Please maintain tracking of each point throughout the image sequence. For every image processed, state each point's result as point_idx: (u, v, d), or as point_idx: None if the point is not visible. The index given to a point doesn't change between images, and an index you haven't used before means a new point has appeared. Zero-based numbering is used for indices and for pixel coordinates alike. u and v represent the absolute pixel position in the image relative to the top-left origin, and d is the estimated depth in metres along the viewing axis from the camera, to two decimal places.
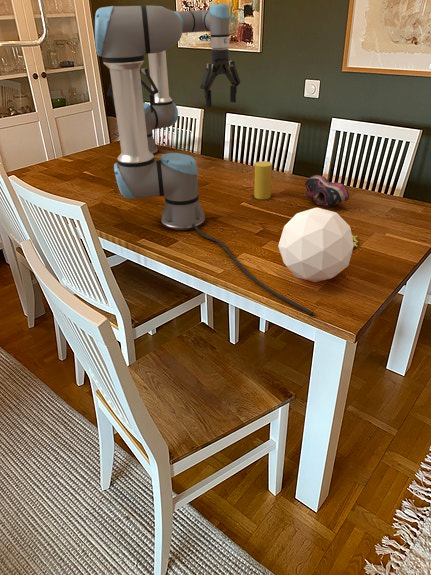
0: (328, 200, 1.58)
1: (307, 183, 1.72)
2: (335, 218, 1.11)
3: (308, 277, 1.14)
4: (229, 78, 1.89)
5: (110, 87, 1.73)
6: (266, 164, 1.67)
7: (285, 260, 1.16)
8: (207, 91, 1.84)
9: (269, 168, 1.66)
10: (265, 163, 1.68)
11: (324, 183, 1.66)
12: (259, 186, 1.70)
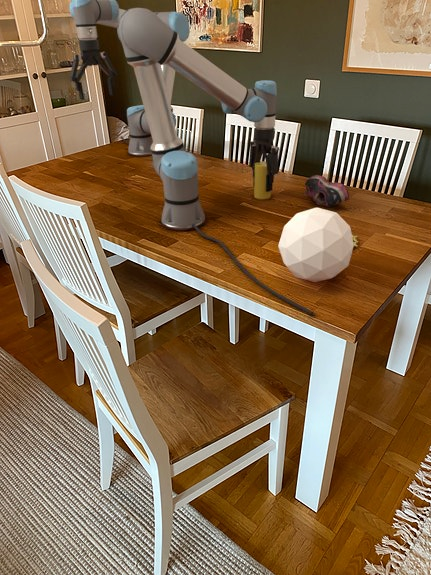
0: (328, 200, 1.58)
1: (307, 183, 1.72)
2: (335, 218, 1.11)
3: (308, 277, 1.14)
4: (104, 70, 1.82)
5: (250, 159, 1.71)
6: None
7: (285, 260, 1.16)
8: (77, 83, 1.77)
9: None
10: (265, 163, 1.68)
11: (324, 183, 1.66)
12: (259, 186, 1.70)
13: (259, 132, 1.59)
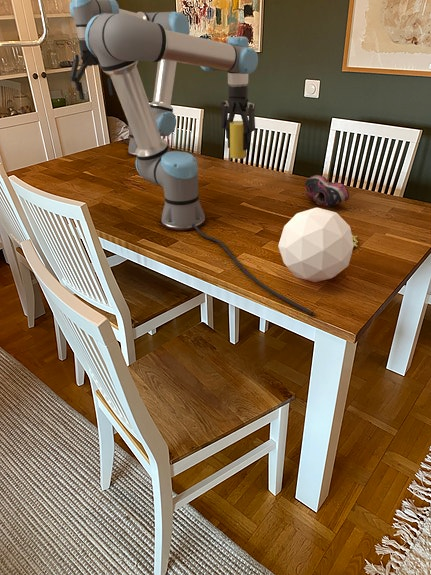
0: (328, 200, 1.58)
1: (307, 183, 1.72)
2: (335, 218, 1.11)
3: (308, 277, 1.14)
4: None
5: (222, 119, 1.71)
6: (241, 122, 1.69)
7: (285, 260, 1.16)
8: (77, 83, 1.77)
9: None
10: (239, 122, 1.70)
11: (324, 183, 1.66)
12: (237, 146, 1.71)
13: (236, 89, 1.60)
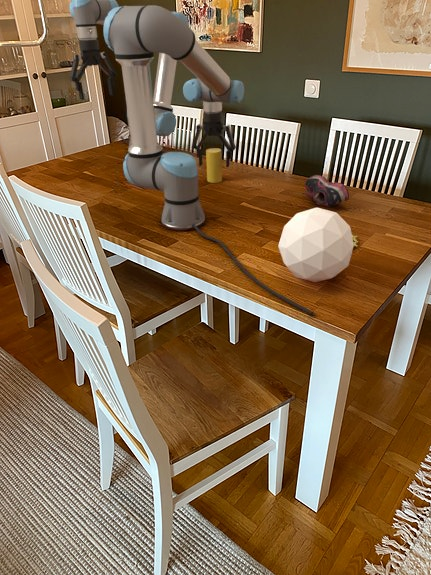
0: (328, 200, 1.58)
1: (307, 183, 1.72)
2: (335, 218, 1.11)
3: (308, 277, 1.14)
4: (104, 70, 1.82)
5: (194, 141, 1.84)
6: (217, 150, 1.85)
7: (285, 260, 1.16)
8: (77, 83, 1.77)
9: (221, 153, 1.86)
10: (214, 149, 1.86)
11: (324, 183, 1.66)
12: (215, 171, 1.87)
13: (213, 116, 1.75)
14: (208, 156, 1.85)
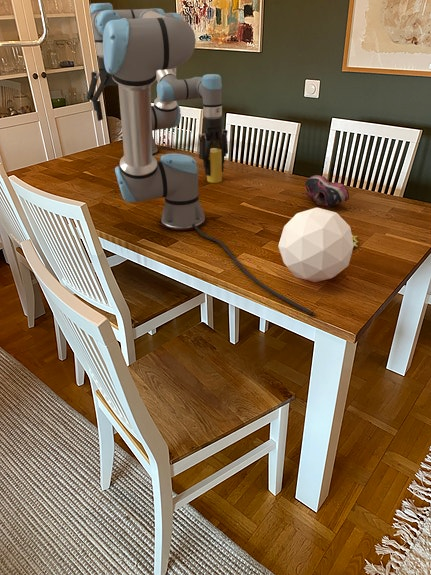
0: (328, 200, 1.58)
1: (307, 183, 1.72)
2: (335, 218, 1.11)
3: (308, 277, 1.14)
4: (218, 146, 1.86)
5: (90, 91, 1.59)
6: (217, 150, 1.85)
7: (285, 260, 1.16)
8: (206, 161, 1.85)
9: (221, 153, 1.86)
10: (214, 149, 1.86)
11: (324, 183, 1.66)
12: (215, 171, 1.87)
13: None
14: None
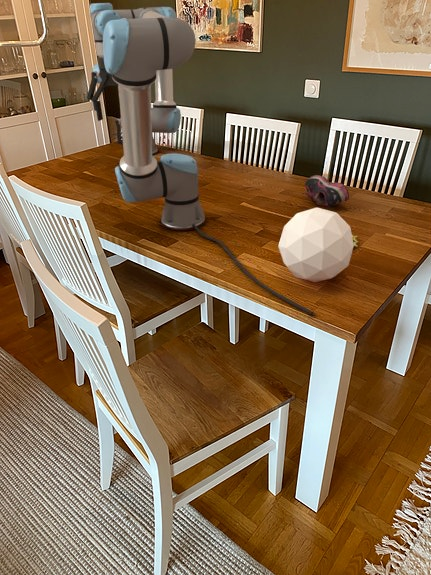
0: (328, 200, 1.58)
1: (307, 183, 1.72)
2: (335, 218, 1.11)
3: (308, 277, 1.14)
4: None
5: (90, 91, 1.59)
6: None
7: (285, 260, 1.16)
8: None
9: None
10: None
11: (324, 183, 1.66)
12: None
13: None
14: None
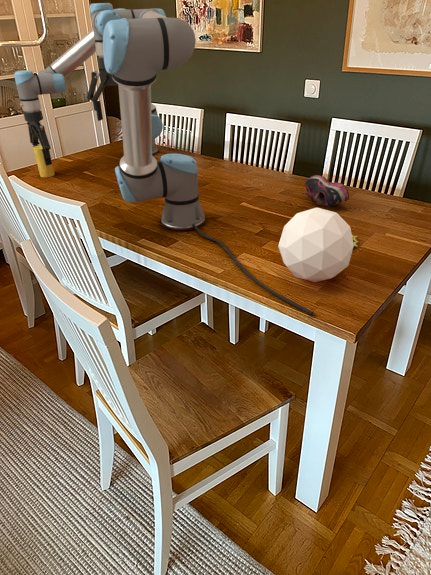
0: (328, 200, 1.58)
1: (307, 183, 1.72)
2: (335, 218, 1.11)
3: (308, 277, 1.14)
4: None
5: (90, 91, 1.59)
6: (39, 147, 1.97)
7: (285, 260, 1.16)
8: (34, 146, 2.02)
9: (37, 151, 1.96)
10: None
11: (324, 183, 1.66)
12: None
13: None
14: None
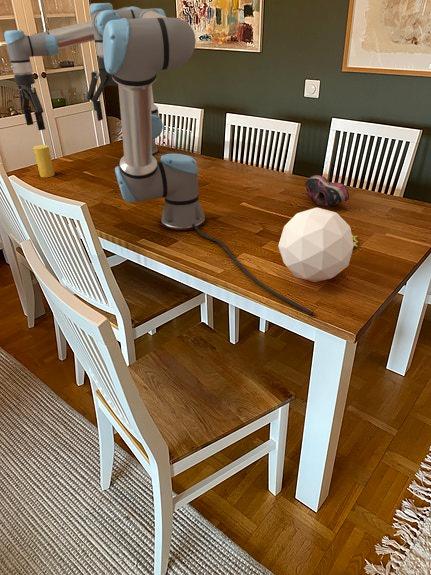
0: (328, 200, 1.58)
1: (307, 183, 1.72)
2: (335, 218, 1.11)
3: (308, 277, 1.14)
4: None
5: (90, 91, 1.59)
6: (39, 147, 1.97)
7: (285, 260, 1.16)
8: (24, 110, 1.95)
9: (37, 151, 1.96)
10: (42, 146, 1.98)
11: (324, 183, 1.66)
12: None
13: None
14: None
